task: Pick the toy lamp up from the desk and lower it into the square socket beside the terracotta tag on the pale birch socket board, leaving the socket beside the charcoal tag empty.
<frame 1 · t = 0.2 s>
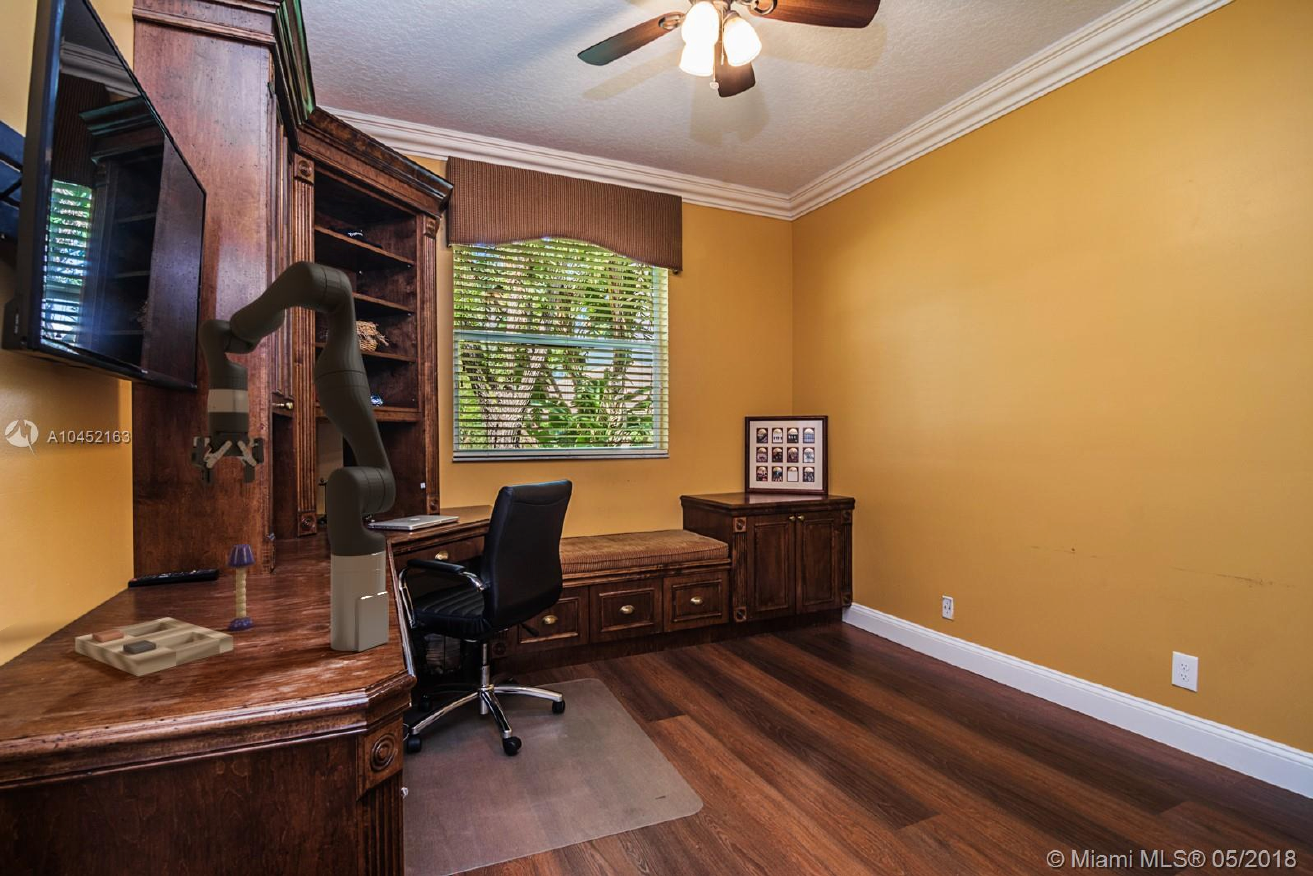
hand: (228, 484, 132), 28 cm above the table, fingers open, 8 cm apart
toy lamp: (241, 628, 122), on the table
socket board: (154, 650, 108), on the table
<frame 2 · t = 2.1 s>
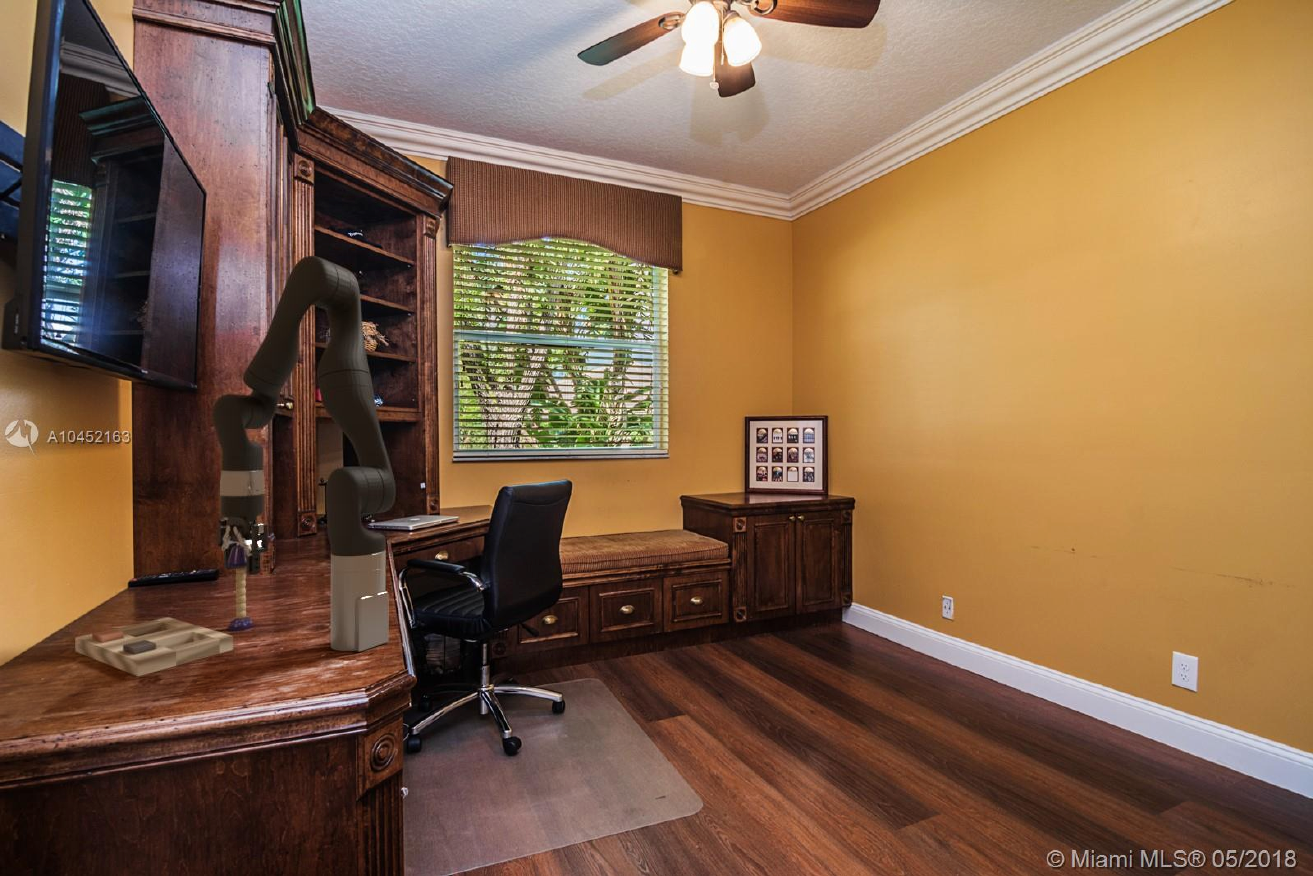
hand: (241, 571, 122), 11 cm above the table, fingers open, 8 cm apart
nothing on the table moved.
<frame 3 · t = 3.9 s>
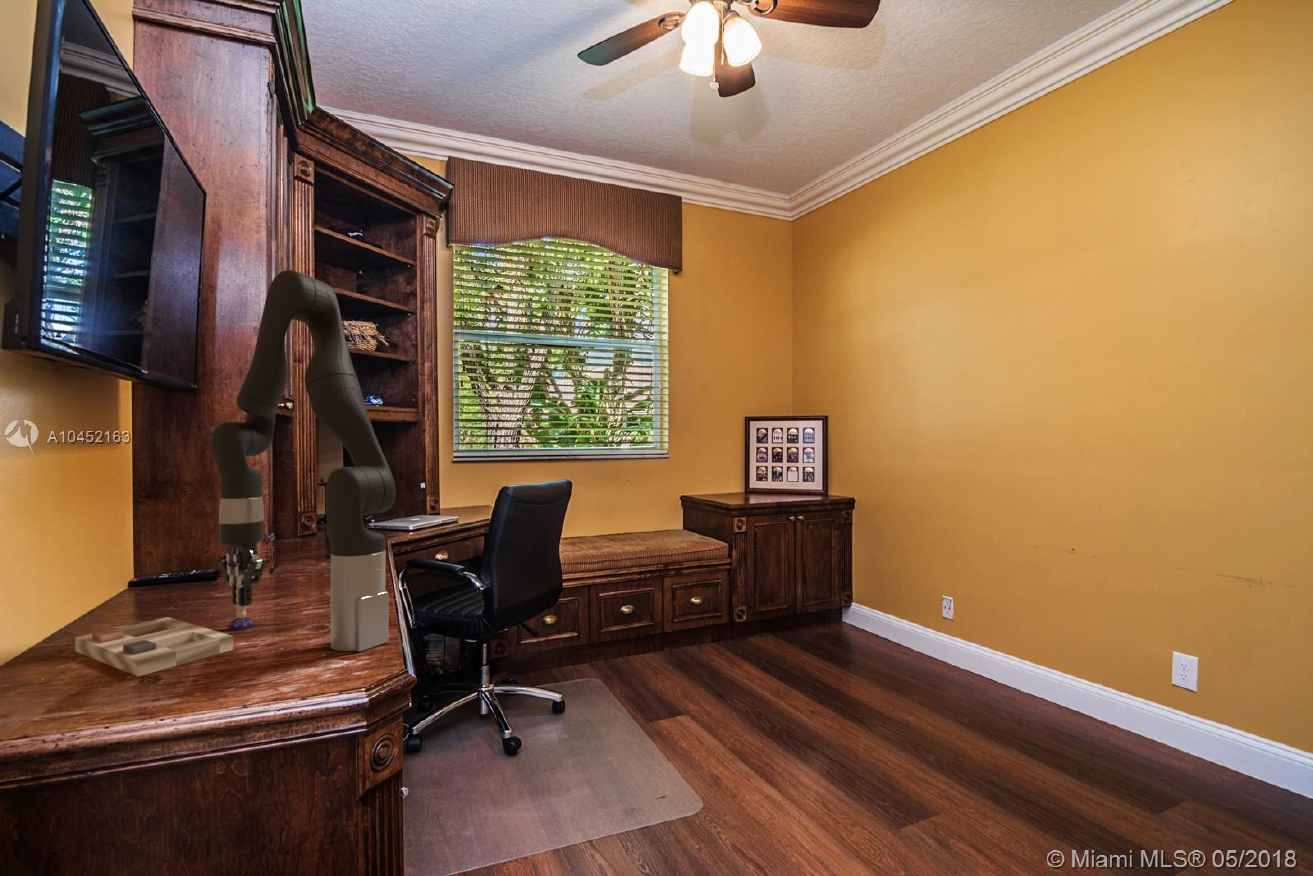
hand: (241, 604, 122), 5 cm above the table, fingers closed on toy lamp
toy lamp: (241, 627, 122), on the table, touching gripper
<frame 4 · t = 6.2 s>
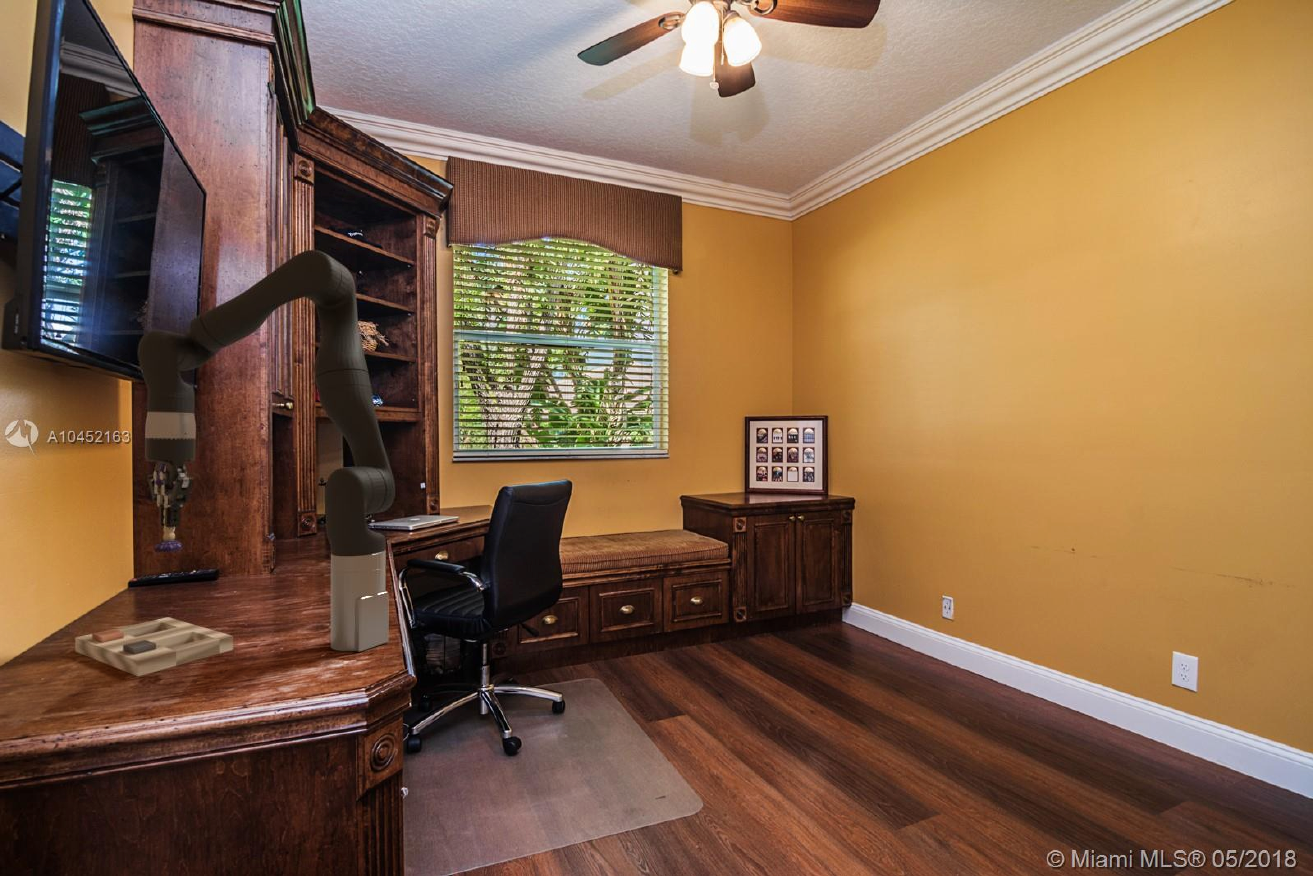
hand: (169, 525, 115), 22 cm above the table, fingers closed on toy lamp
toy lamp: (168, 550, 115), point 17 cm above the table, touching gripper
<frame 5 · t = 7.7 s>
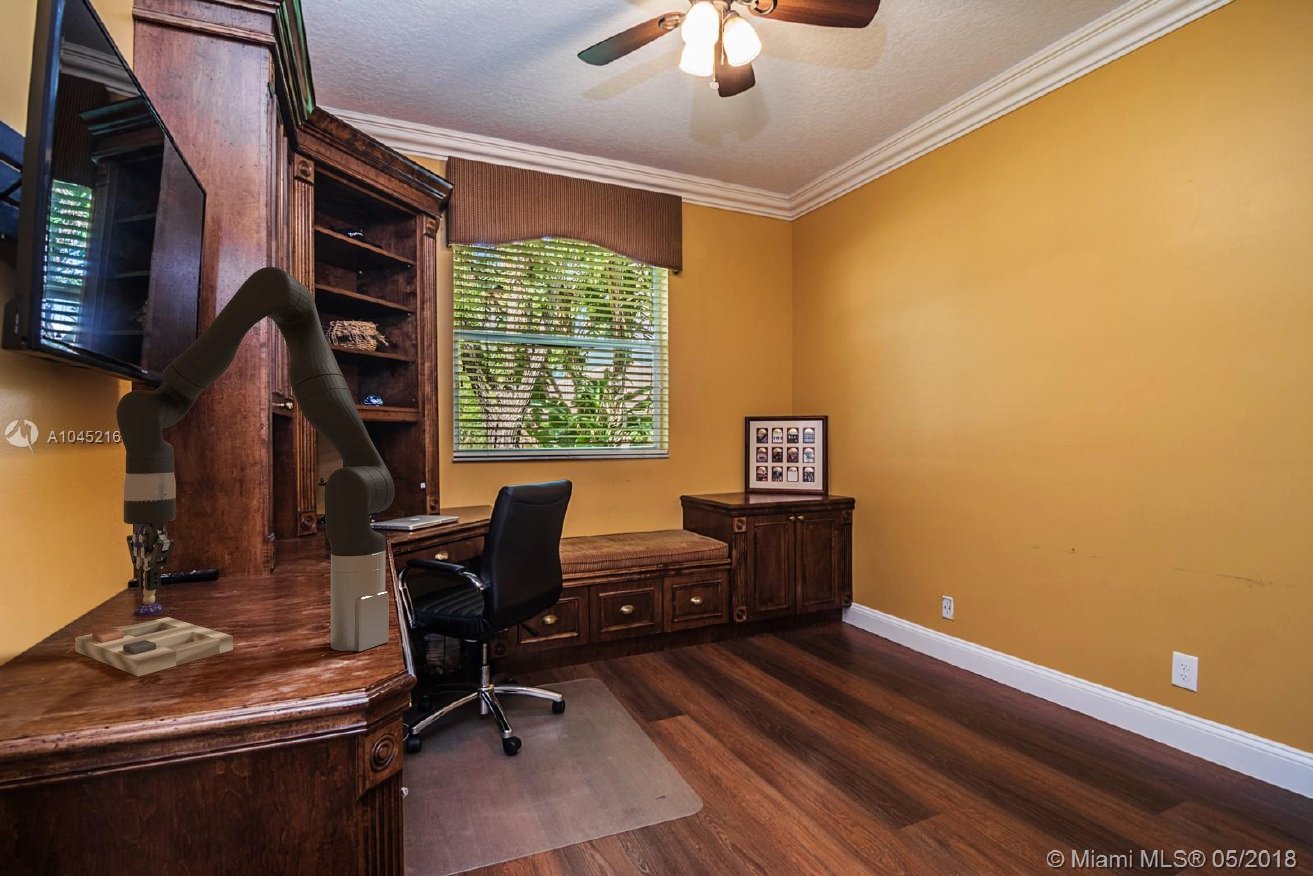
hand: (149, 588, 113), 10 cm above the table, fingers closed on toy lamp
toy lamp: (149, 613, 113), point 5 cm above the table, touching gripper
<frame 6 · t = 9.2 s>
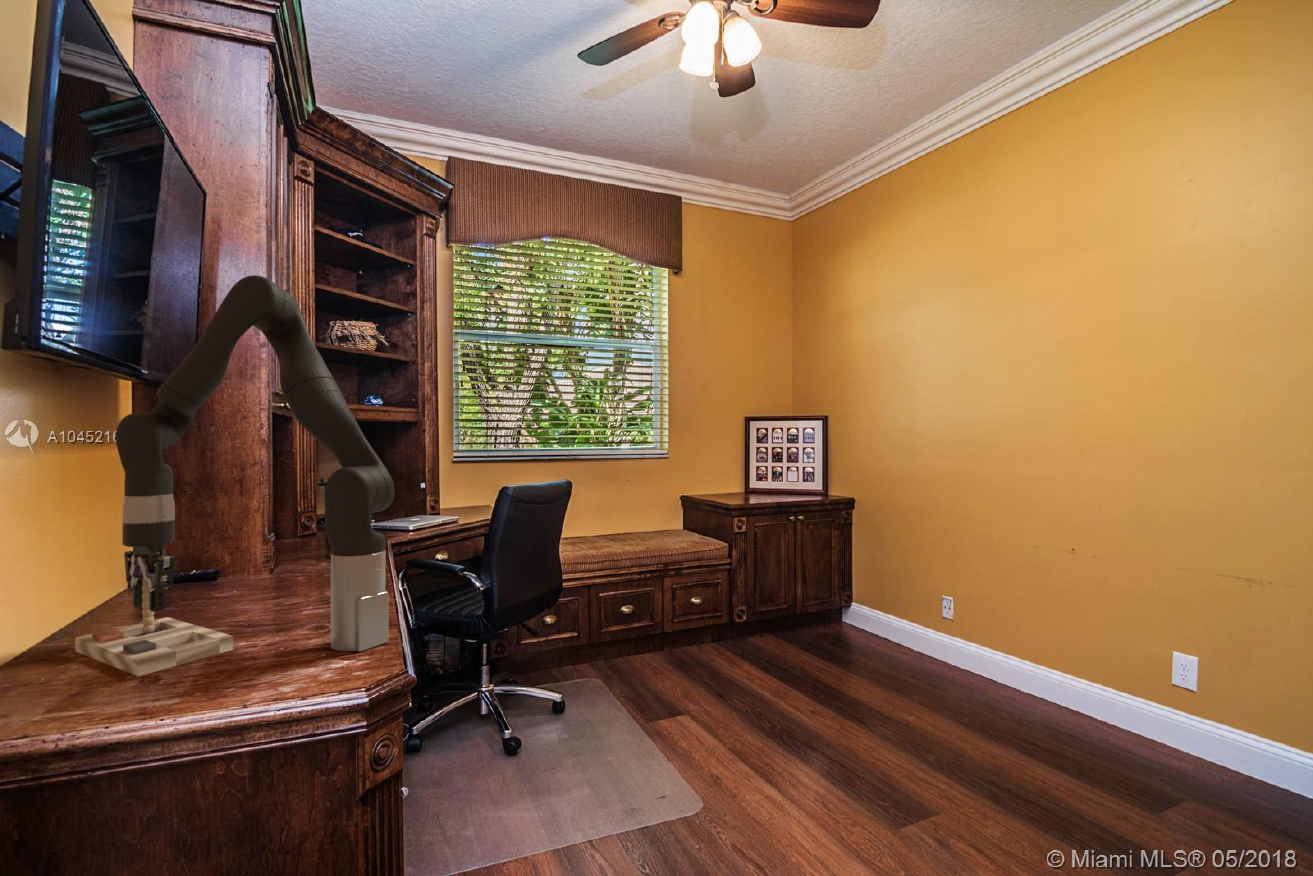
hand: (148, 607, 112), 7 cm above the table, fingers open, 6 cm apart
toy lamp: (148, 643, 113), resting in socket board
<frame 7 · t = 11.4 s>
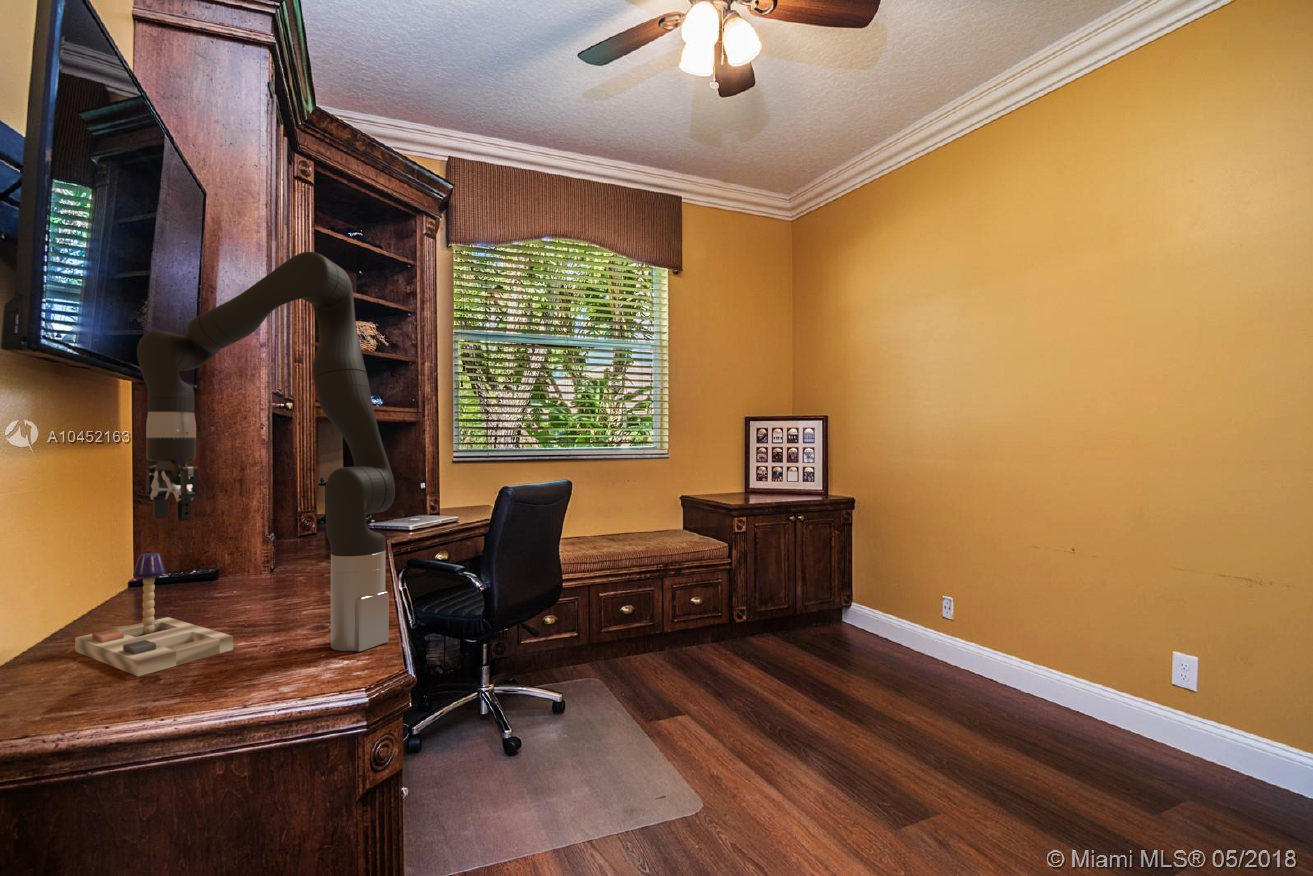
hand: (171, 519, 116), 23 cm above the table, fingers open, 8 cm apart
nothing on the table moved.
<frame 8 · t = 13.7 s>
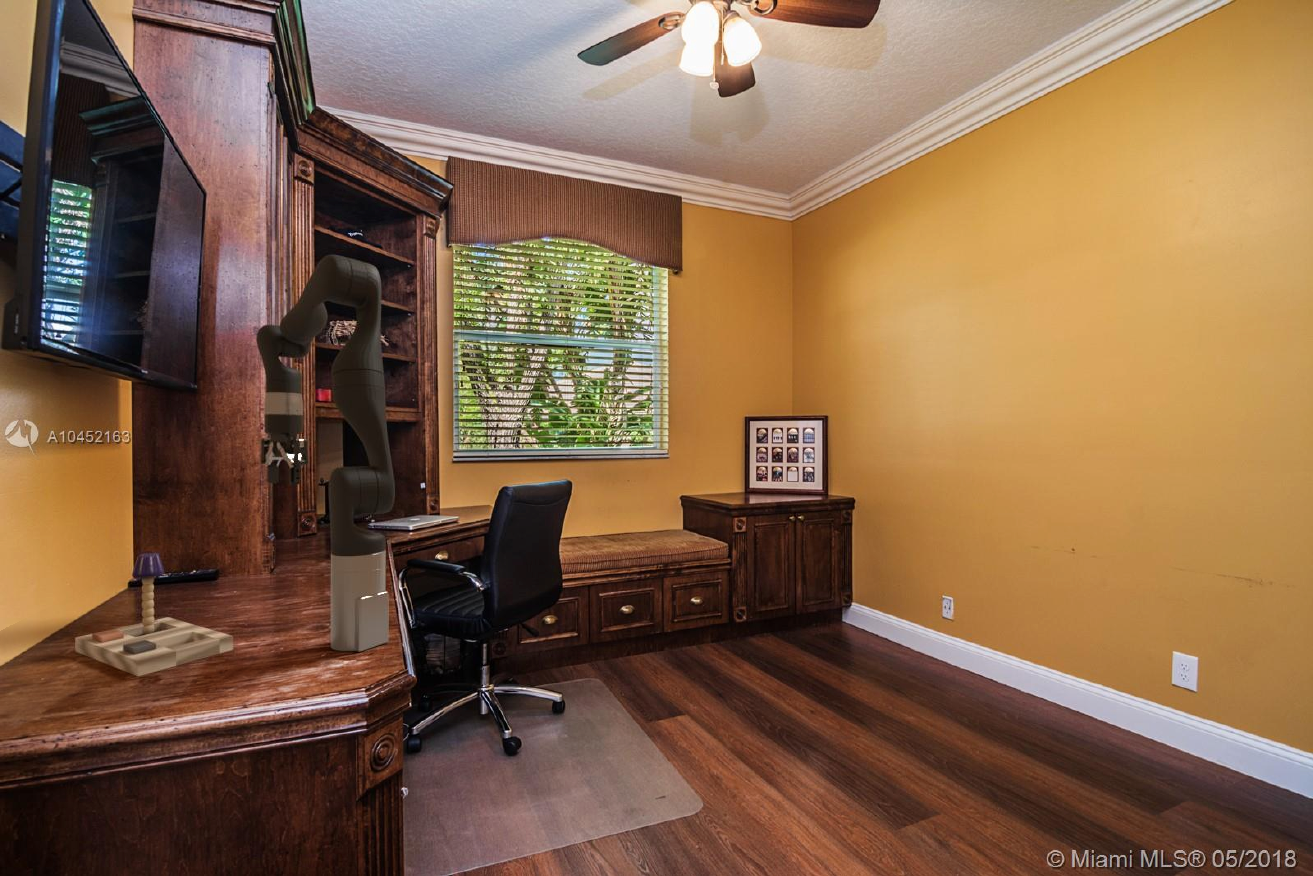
hand: (283, 483, 137), 28 cm above the table, fingers open, 8 cm apart
nothing on the table moved.
at the end: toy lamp 0.2 cm from the target spot on the socket board, point 0.0 cm above the socket board's base; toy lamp tilted 0°; the gripper is holding nothing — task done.
